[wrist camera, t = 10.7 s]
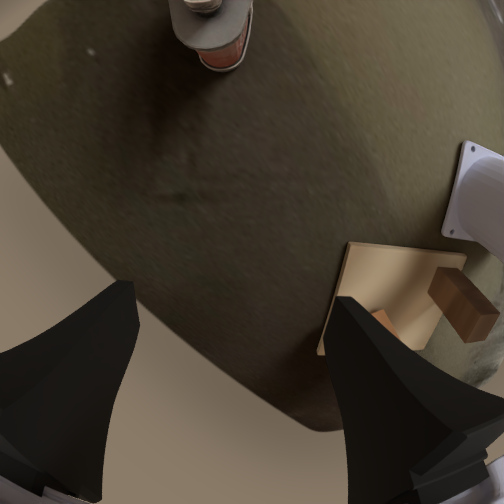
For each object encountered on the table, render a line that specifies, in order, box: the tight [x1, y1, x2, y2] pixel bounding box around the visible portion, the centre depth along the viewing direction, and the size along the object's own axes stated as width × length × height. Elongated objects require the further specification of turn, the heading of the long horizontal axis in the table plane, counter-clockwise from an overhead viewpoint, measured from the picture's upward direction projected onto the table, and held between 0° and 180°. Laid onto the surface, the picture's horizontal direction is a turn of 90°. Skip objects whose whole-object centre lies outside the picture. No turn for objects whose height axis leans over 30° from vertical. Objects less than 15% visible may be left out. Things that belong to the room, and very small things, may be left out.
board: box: [317, 242, 467, 355], centre depth 23 cm, size 12×11×1 cm
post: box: [427, 267, 500, 343], centre depth 19 cm, size 3×3×7 cm
